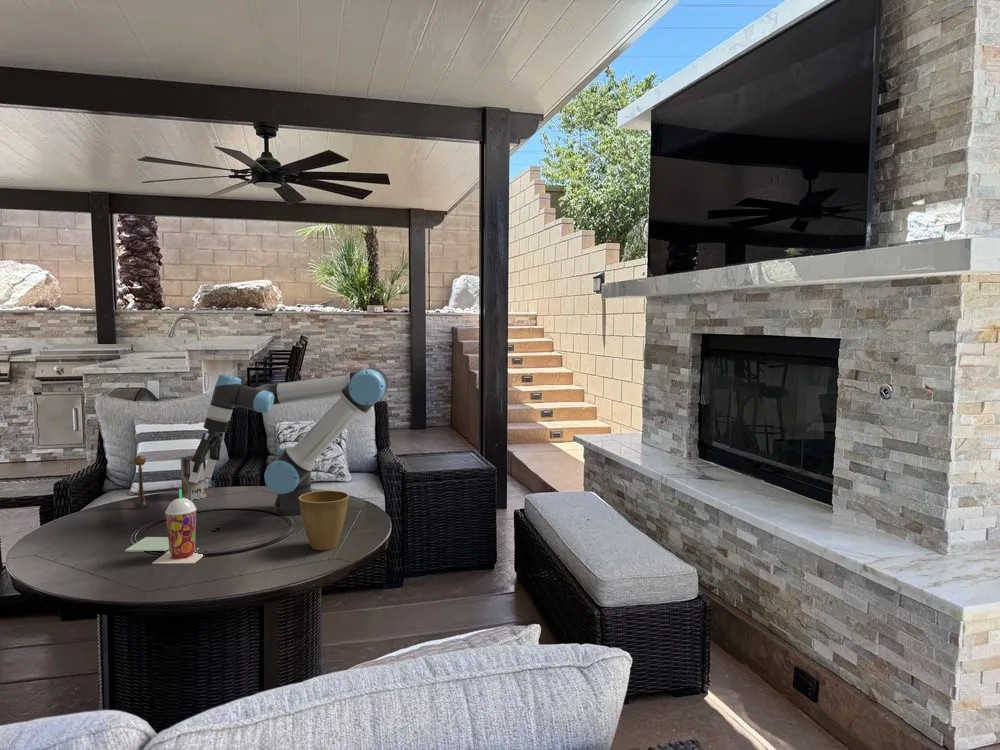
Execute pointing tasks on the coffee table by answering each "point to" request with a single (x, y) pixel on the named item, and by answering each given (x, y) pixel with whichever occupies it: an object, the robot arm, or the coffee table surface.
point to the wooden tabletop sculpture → (140, 484)
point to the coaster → (150, 545)
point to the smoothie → (181, 527)
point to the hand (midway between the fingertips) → (200, 479)
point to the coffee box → (191, 488)
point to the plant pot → (323, 517)
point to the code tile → (177, 559)
